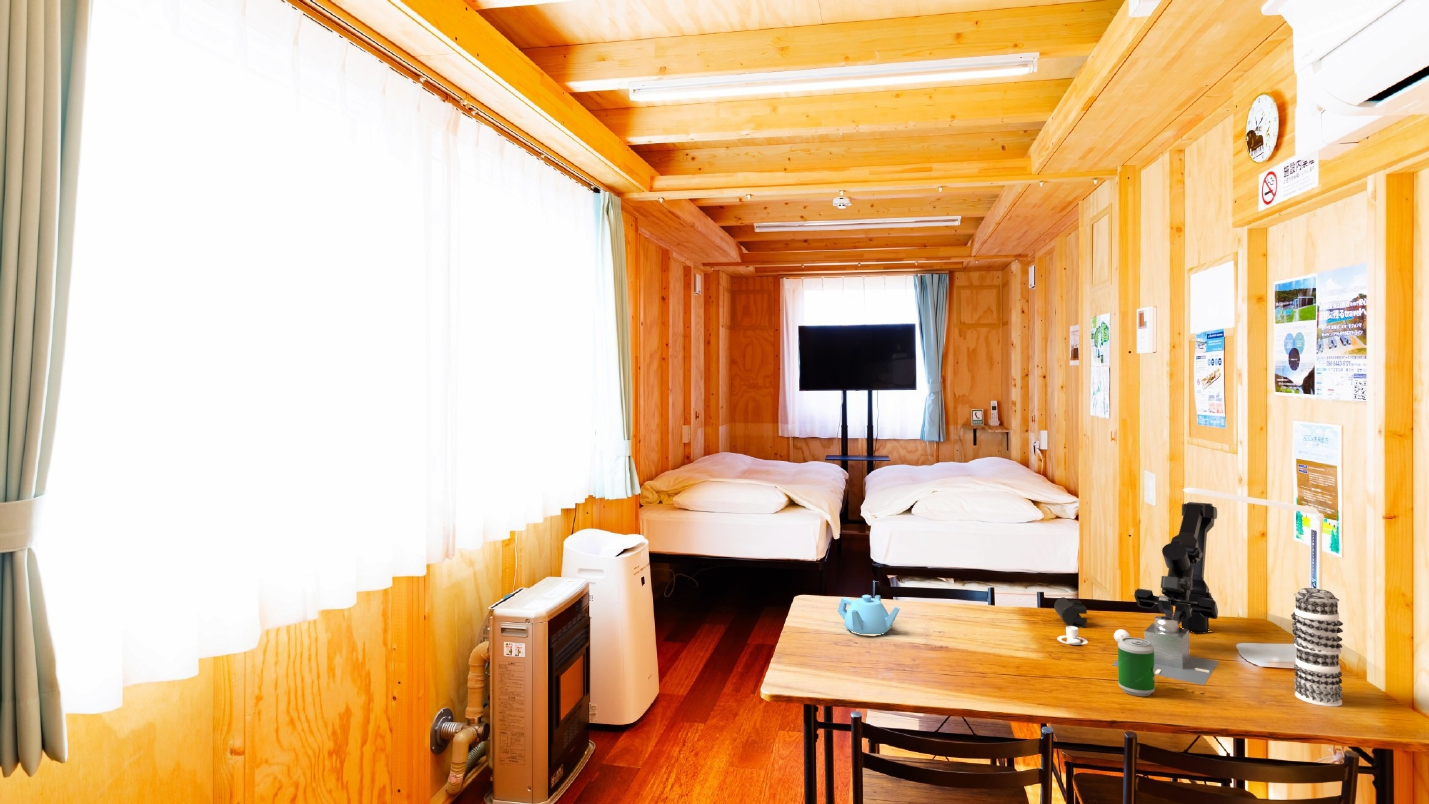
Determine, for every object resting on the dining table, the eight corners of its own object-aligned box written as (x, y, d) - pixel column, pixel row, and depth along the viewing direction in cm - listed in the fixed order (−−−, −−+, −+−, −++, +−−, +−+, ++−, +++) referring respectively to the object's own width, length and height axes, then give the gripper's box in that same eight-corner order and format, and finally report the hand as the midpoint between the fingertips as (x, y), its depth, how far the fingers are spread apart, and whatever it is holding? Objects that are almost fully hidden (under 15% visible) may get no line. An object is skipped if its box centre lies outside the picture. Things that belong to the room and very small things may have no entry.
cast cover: (1152, 652, 195) (1152, 611, 195) (1189, 660, 189) (1188, 617, 189) (1145, 661, 189) (1144, 619, 189) (1182, 669, 183) (1181, 625, 183)
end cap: (1054, 617, 230) (1053, 596, 230) (1078, 618, 229) (1077, 597, 229) (1062, 627, 221) (1061, 605, 221) (1087, 628, 219) (1087, 606, 219)
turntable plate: (1132, 648, 201) (1131, 612, 201) (1218, 665, 187) (1218, 626, 187) (1112, 669, 187) (1111, 630, 187) (1203, 689, 173) (1203, 647, 173)
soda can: (1154, 700, 168) (1153, 648, 167) (1117, 693, 172) (1116, 643, 171) (1155, 688, 174) (1154, 639, 174) (1119, 682, 178) (1118, 634, 178)
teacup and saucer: (1079, 649, 203) (1079, 634, 203) (1051, 642, 209) (1051, 628, 209) (1092, 641, 208) (1092, 627, 208) (1064, 635, 214) (1064, 621, 214)
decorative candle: (1296, 702, 165) (1293, 593, 164) (1289, 687, 172) (1287, 583, 172) (1348, 710, 160) (1346, 598, 160) (1339, 695, 168) (1337, 588, 168)
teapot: (881, 621, 231) (881, 587, 231) (901, 636, 216) (901, 600, 216) (836, 624, 228) (835, 591, 228) (853, 640, 214) (852, 604, 214)
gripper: (1135, 559, 202) (1125, 607, 194) (1215, 569, 189) (1207, 620, 181) (1143, 582, 208) (1133, 629, 200) (1221, 593, 195) (1214, 644, 187)
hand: (1170, 630), depth 192 cm, fingers closed, pressing on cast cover
